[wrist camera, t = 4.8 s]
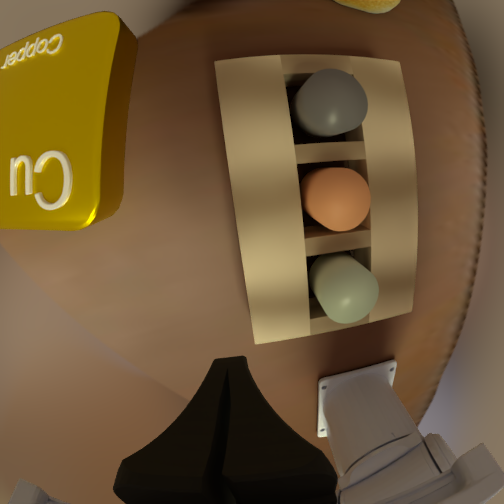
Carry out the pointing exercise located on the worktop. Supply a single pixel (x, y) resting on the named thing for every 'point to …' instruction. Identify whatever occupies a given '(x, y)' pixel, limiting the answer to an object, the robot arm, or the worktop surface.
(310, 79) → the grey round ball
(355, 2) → the bread roll
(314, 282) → the sage button
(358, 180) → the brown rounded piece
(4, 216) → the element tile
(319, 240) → the button panel
